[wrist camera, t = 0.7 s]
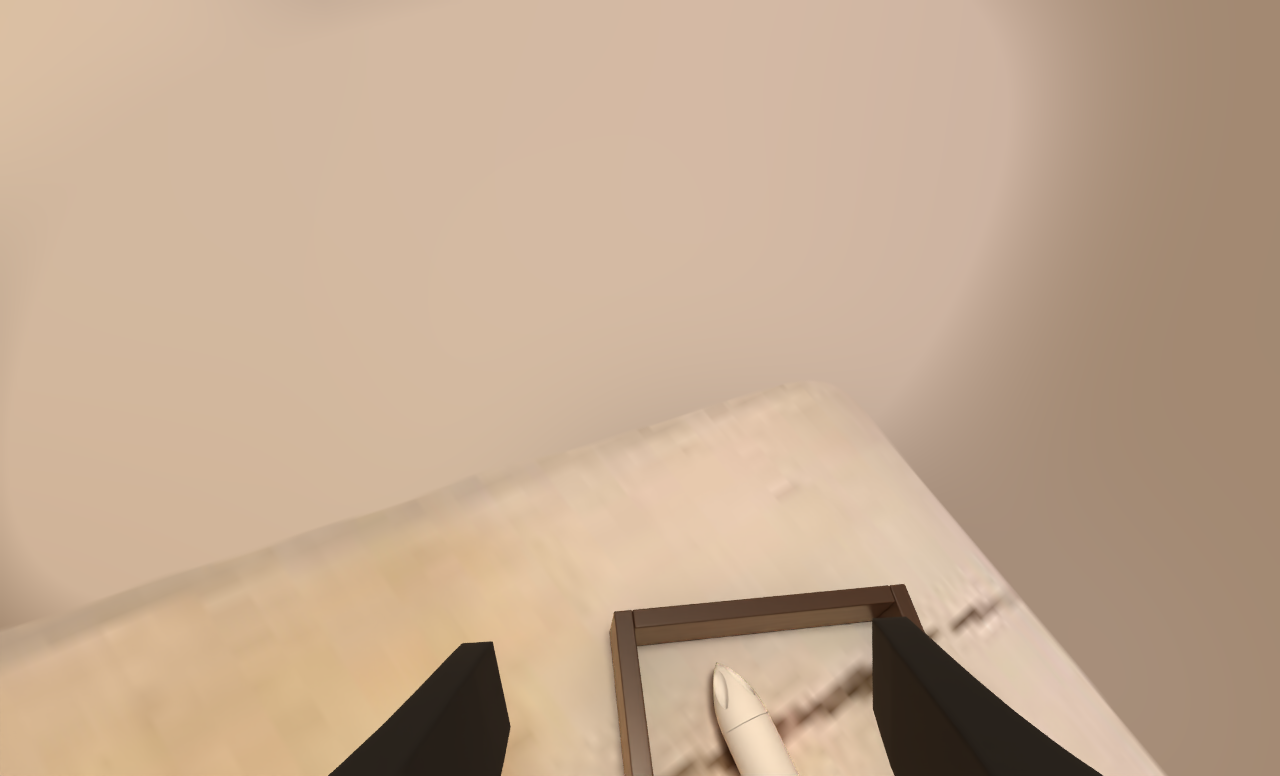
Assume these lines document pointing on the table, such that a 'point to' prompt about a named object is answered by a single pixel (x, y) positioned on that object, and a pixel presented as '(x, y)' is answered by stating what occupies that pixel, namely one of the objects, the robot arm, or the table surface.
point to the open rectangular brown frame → (723, 622)
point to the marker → (748, 727)
